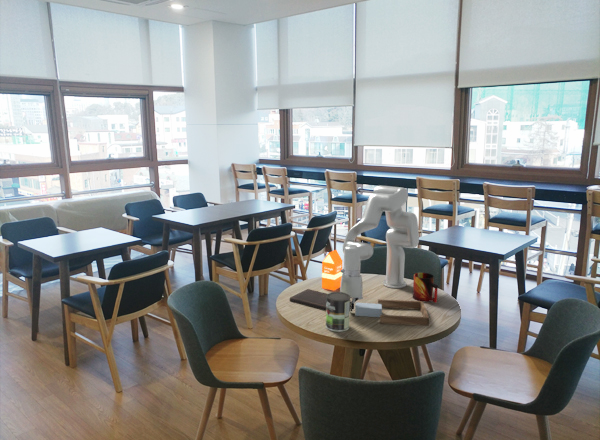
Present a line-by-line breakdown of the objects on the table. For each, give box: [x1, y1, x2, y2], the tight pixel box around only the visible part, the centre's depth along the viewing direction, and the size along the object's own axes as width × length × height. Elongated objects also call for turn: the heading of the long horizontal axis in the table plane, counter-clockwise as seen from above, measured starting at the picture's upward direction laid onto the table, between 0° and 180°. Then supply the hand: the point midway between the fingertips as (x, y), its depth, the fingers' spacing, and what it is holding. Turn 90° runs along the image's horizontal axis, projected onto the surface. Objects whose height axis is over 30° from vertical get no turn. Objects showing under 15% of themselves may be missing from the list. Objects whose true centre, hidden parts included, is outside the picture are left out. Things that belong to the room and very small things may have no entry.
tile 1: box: [354, 302, 369, 317], centre depth 217 cm, size 6×6×4 cm
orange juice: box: [321, 249, 343, 291], centre depth 252 cm, size 8×9×20 cm
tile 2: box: [367, 302, 383, 318], centre depth 217 cm, size 6×6×4 cm
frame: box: [377, 299, 430, 327], centre depth 215 cm, size 20×21×4 cm
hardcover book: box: [289, 288, 328, 312], centre depth 233 cm, size 16×23×2 cm
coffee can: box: [325, 291, 351, 333], centre depth 202 cm, size 10×10×14 cm
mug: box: [412, 272, 439, 304], centre depth 235 cm, size 10×14×12 cm
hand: (350, 310), depth 218 cm, fingers closed
